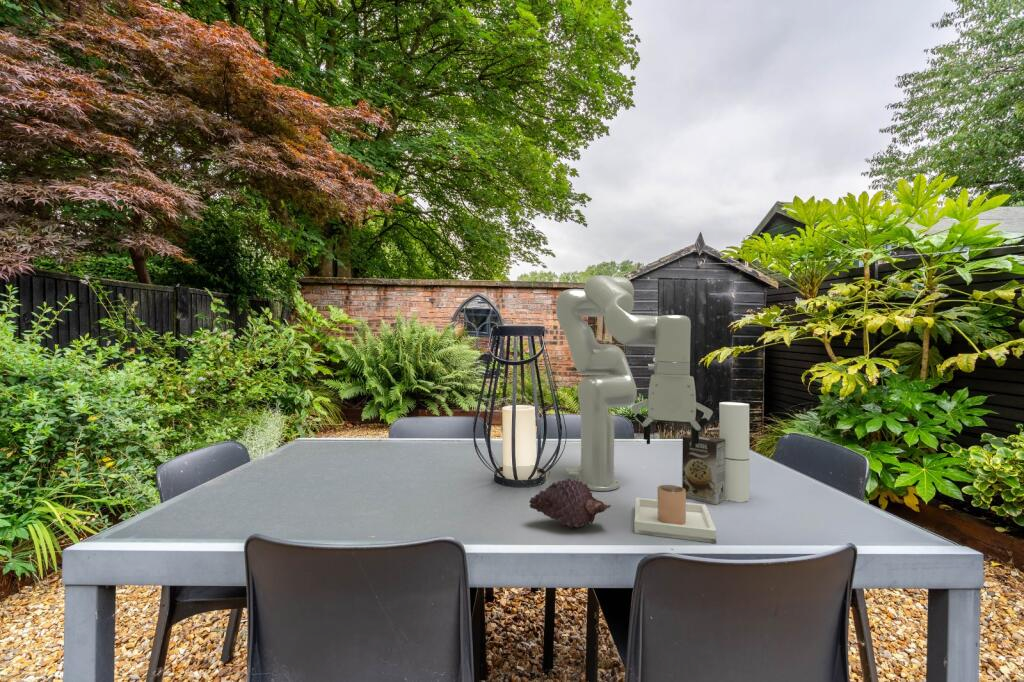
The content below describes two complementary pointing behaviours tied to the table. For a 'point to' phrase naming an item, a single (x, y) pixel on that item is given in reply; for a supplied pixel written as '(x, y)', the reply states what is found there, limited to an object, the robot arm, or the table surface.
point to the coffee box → (704, 469)
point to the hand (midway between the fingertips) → (670, 444)
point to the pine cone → (568, 503)
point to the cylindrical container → (735, 449)
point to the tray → (694, 528)
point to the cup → (671, 504)
